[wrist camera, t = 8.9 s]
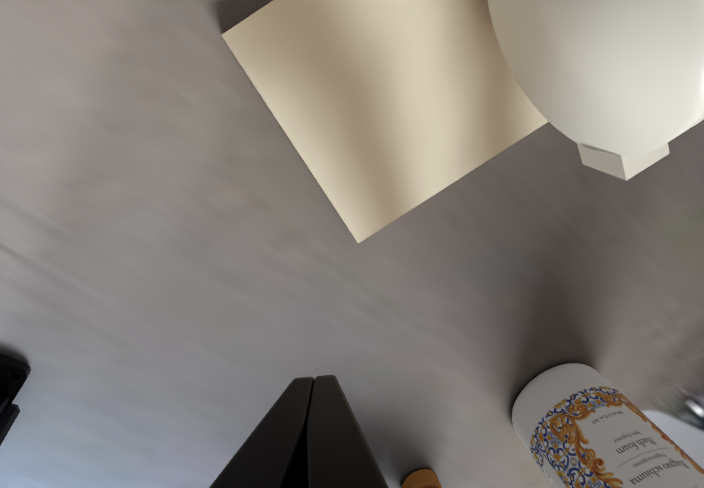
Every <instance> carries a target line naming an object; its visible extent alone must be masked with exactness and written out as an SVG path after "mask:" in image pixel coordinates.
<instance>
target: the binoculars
mask: <svg viewBox="0 0 704 488" xmlns="http://www.w3.org/2000/svg"><path fill="white" fill-rule="evenodd" d="M402 488H442V487H441V485H440V482H439V480H438V477H437V475H436V474H435V472H433V471H432V470H429V469H422V470H418V471H416V472H413V473H412V474H410V475H409V476H408V477H407V478H406V479H405V481H404V483H403V485H402Z"/></svg>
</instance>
